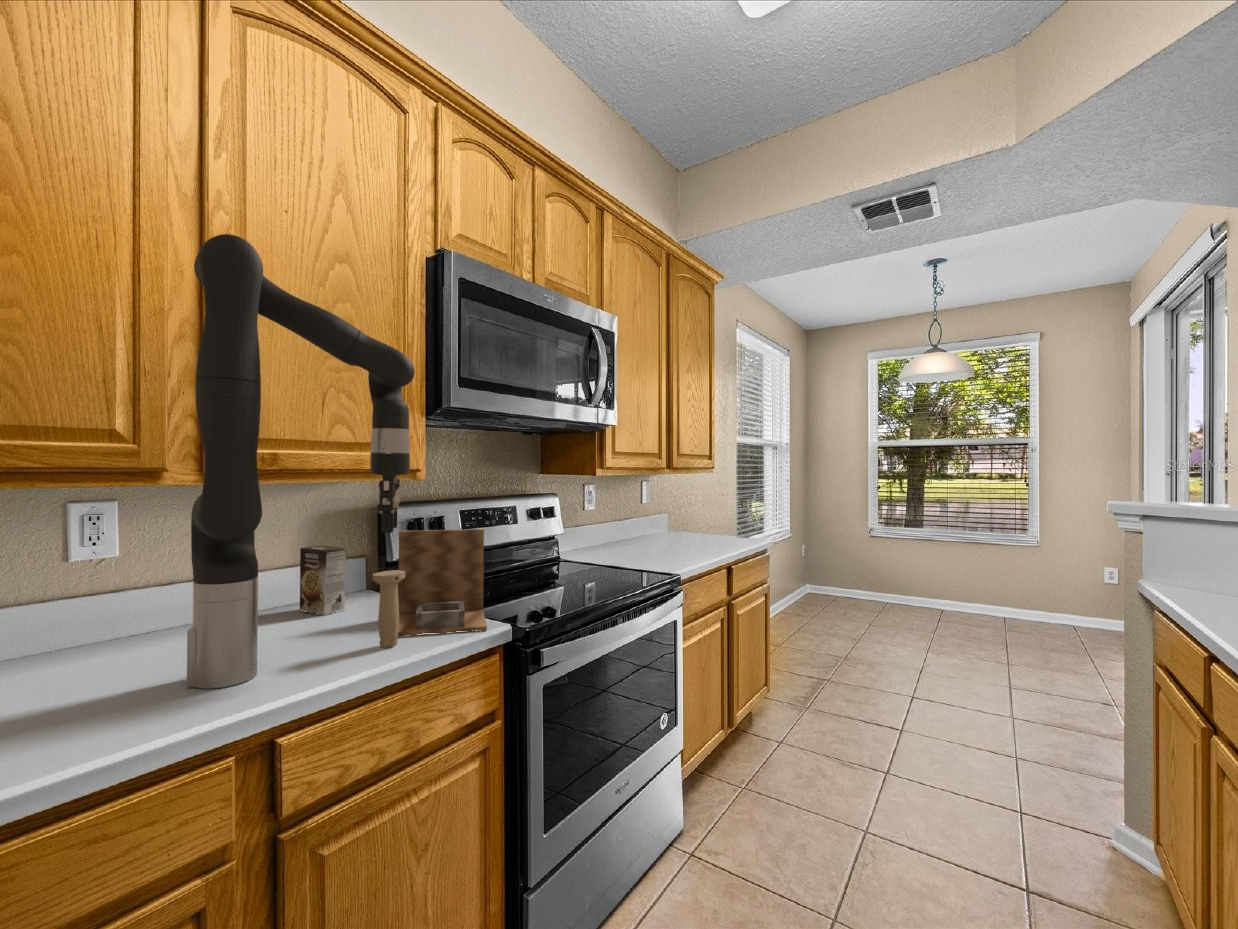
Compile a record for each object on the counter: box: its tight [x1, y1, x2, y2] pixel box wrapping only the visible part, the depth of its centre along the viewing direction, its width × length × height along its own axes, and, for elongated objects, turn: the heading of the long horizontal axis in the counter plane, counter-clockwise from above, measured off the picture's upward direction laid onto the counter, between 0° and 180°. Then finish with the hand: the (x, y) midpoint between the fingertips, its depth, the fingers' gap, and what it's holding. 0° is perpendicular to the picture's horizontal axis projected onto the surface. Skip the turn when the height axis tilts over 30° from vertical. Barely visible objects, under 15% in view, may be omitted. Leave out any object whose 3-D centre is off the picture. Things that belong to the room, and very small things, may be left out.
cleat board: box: [398, 528, 488, 637], centre depth 134 cm, size 20×19×21 cm
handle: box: [372, 569, 405, 648], centre depth 117 cm, size 5×6×15 cm
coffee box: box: [299, 544, 347, 616], centre depth 144 cm, size 9×6×16 cm
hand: (389, 530), depth 117 cm, fingers open, 8 cm apart
